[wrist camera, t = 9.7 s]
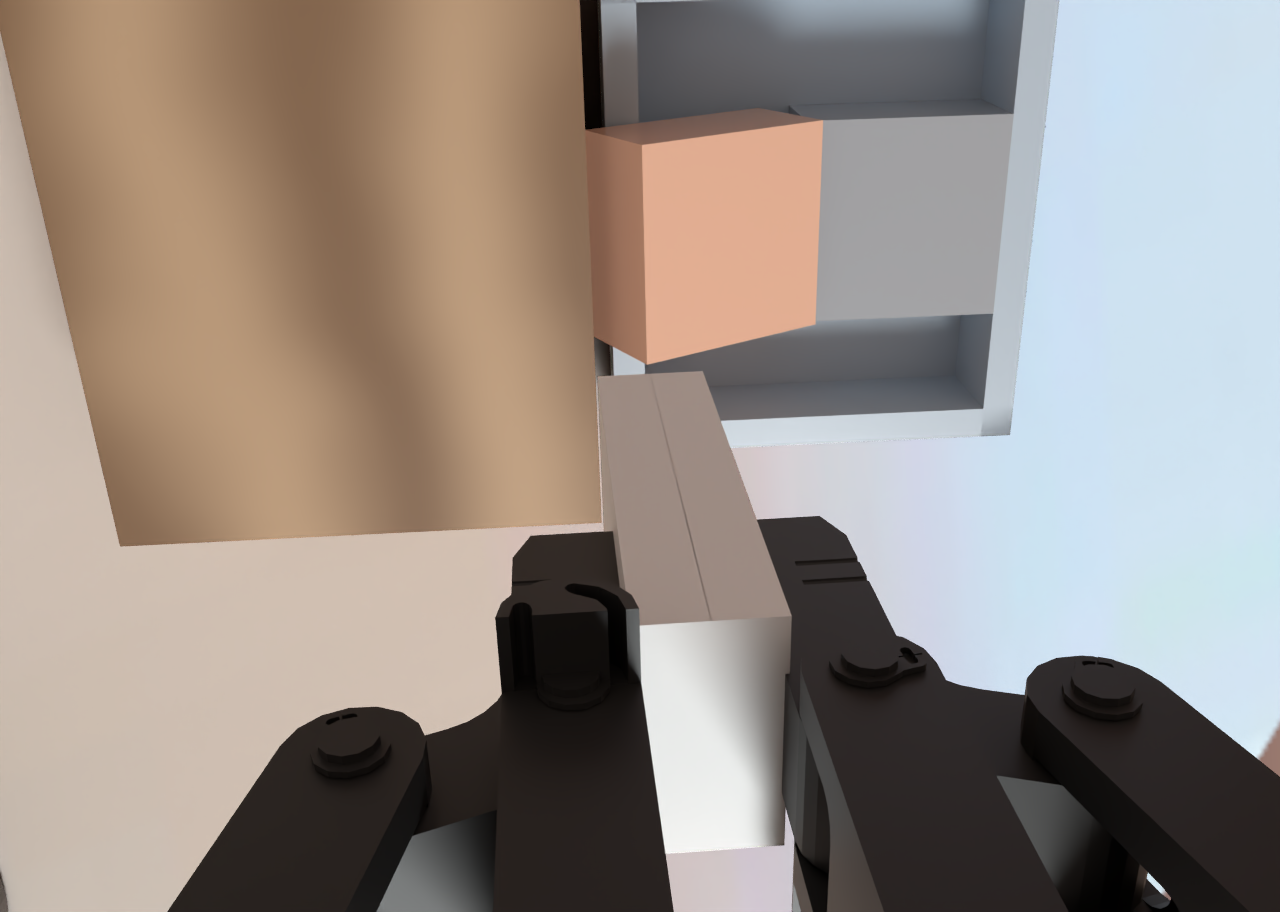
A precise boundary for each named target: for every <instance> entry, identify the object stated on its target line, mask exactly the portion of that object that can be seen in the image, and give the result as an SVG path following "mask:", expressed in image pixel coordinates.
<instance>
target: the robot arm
mask: <svg viewBox="0 0 1280 912" xmlns="http://www.w3.org/2000/svg"><path fill="white" fill-rule="evenodd" d="M597 378H598V402H599V427H600V451H601V475H602V499H603V523H604V532H589V533H571V534H554V535H537V536H530V537H529V539H528V540H527V541H526V542H525V544H524V545H523V546H522V547H521V548H520V550H519V551H518V552H517V553H516V554H515V556H514V557H513V566H512V593H511V596H509V597H508V598H507V599H506V600H505V601H503V602H502V603H501V605H500V608H499V610H498V613H497V615H496V617H495V620H496V631H497V643H498V654H499V666H500V678H501V689H502V695H501V696H500V698H499V699H498V701H497V702H495V703H494V704H493V705H492V706H491V707H490V708H489V709H487V710H486V711H485V712H484V713H482V714H480V715H479V716H477V717H475V718H473V719H472V720H470V721H468V722H466V723H463V724H460V725H458V726H455V727H452V728H449V729H446V730H443V731H439V732H436V733H432V734H429V735H424V733H423V731H422V729H421V727H420V725H419V723H417V722H416V721H414V720H413V719H411V718H410V717H408V716H407V715H405V714H404V713H402V712H399V711H394V710H389V709H385V708H380V707H362V708H348V709H344V710H340V711H336V712H333V713H329V714H326V715H322V716H320V717H318V718H316V719H314V720H313V721H311V722H309V723H307V724H305V725H303V726H301V727H300V728H298V729H297V730H296V731H295V732H294V733H293V734H292V735H291V736H290V737H289V738H288V739H287V740H286V741H285V742H284V743H283V744H282V745H281V746H280V747H279V748H278V750H277V751H276V753H275V754H274V756H273V757H272V759H271V760H270V762H269V763H268V765H267V766H266V768H265V769H264V771H263V772H262V773H261V775H260V776H259V778H258V779H257V781H256V782H255V784H254V785H253V787H252V788H251V790H250V791H249V793H248V794H247V795H246V797H245V798H244V800H243V801H242V803H241V804H240V806H239V807H238V809H237V810H236V812H235V813H234V815H233V816H232V818H231V819H230V820H229V822H228V823H227V825H226V826H225V828H224V829H223V831H222V832H221V834H220V835H219V837H218V838H217V840H216V841H215V843H214V844H213V845H212V847H211V848H210V850H209V851H208V853H207V854H206V856H205V857H204V859H203V860H202V862H201V863H200V865H199V866H198V867H197V869H196V870H195V872H194V873H193V875H192V876H191V878H190V879H189V881H188V882H187V884H186V885H185V887H184V888H183V890H182V891H181V892H180V894H179V895H178V897H177V898H176V900H175V901H174V903H173V904H172V906H171V907H170V909H169V910H168V912H674V911H673V904H672V897H671V890H670V883H669V876H668V868H667V861H666V854H673V853H686V852H699V851H713V850H726V849H739V848H753V847H766V846H780V845H784V838H785V807H786V810H787V814H788V817H789V821H790V824H791V828H792V831H793V835H794V866H793V893H792V912H1280V777H1279V776H1278V775H1277V774H1276V773H1274V772H1273V771H1272V770H1271V769H1269V768H1268V767H1267V766H1266V765H1264V764H1263V763H1262V762H1261V761H1259V760H1258V759H1257V758H1256V757H1254V756H1253V755H1252V754H1251V753H1249V752H1248V751H1247V750H1246V749H1244V748H1243V747H1242V746H1241V745H1239V744H1238V743H1237V742H1236V741H1234V740H1233V739H1232V738H1231V737H1229V736H1228V735H1227V734H1226V733H1224V732H1223V731H1222V730H1221V729H1219V728H1218V727H1217V726H1216V725H1214V724H1213V723H1212V722H1211V721H1209V720H1208V719H1207V718H1206V717H1204V716H1203V715H1202V714H1200V713H1199V712H1198V711H1197V710H1195V709H1194V708H1193V707H1192V706H1190V705H1189V704H1188V703H1187V702H1185V701H1184V700H1183V699H1182V698H1180V697H1179V696H1178V695H1177V694H1175V693H1174V692H1173V691H1172V690H1170V689H1169V688H1168V687H1167V686H1165V685H1164V684H1163V683H1162V682H1160V681H1159V680H1157V679H1155V678H1154V677H1152V676H1150V675H1149V674H1147V673H1145V672H1144V671H1142V670H1140V669H1139V668H1136V667H1133V666H1130V665H1127V664H1124V663H1121V662H1118V661H1115V660H1112V659H1107V658H1102V657H1098V658H1097V657H1094V656H1073V657H1062V658H1055V659H1053V660H1051V661H1048V662H1046V663H1043V664H1041V665H1038V666H1037V667H1036V668H1035V669H1034V671H1033V672H1032V673H1031V674H1030V675H1029V677H1028V678H1027V681H1026V689H1025V695H1019V694H1012V693H1004V692H997V691H989V690H982V689H977V688H972V687H967V686H962V685H958V684H955V683H952V682H950V681H947V680H946V679H945V677H944V676H943V674H942V672H941V670H940V668H939V666H938V664H937V663H936V661H935V660H934V659H933V658H932V657H931V656H930V655H929V654H928V653H927V651H926V650H925V649H924V648H922V647H920V646H918V645H916V644H915V643H913V642H911V641H909V640H907V639H905V638H903V637H899V636H896V634H895V632H894V630H893V628H892V626H891V624H890V622H889V620H888V618H887V616H886V614H885V612H884V610H883V608H882V606H881V604H880V602H879V600H878V598H877V596H876V594H875V592H874V590H873V588H872V586H871V584H870V582H869V581H867V576H866V574H865V572H864V570H863V568H862V566H861V564H860V562H858V561H857V556H856V554H855V552H854V550H853V548H852V546H851V544H850V542H849V540H848V538H847V536H846V535H845V534H844V533H843V532H841V531H840V530H838V529H837V528H835V527H834V526H833V525H831V524H830V523H828V522H827V521H826V520H824V519H823V518H821V517H820V516H812V517H795V518H778V519H760V520H757V519H756V516H755V514H754V511H753V508H752V505H751V503H750V500H749V497H748V494H747V492H746V489H745V486H744V483H743V481H742V478H741V475H740V472H739V470H738V467H737V464H736V461H735V459H734V456H733V453H732V450H731V448H730V445H729V442H728V439H727V437H726V434H725V431H724V428H723V426H722V423H721V420H720V417H719V415H718V412H717V409H716V406H715V404H714V401H713V398H712V395H711V393H710V390H709V387H708V384H707V382H706V379H705V376H704V373H703V371H695V372H675V373H655V374H635V375H615V376H597ZM1148 873H1149V874H1150V875H1151V876H1152V877H1153V878H1154V879H1155V880H1156V881H1157V882H1158V883H1159V884H1160V885H1161V886H1162V887H1163V888H1164V889H1165V891H1166V892H1167V893H1168V895H1169V896H1170V897H1171V900H1168V898H1166V897H1165V896H1164V895H1162V894H1161V893H1160V892H1159V891H1158V890H1157V889H1156V888H1155V887H1154V886H1153V885H1152V884H1151V883H1150V882H1149V881H1148V880H1147V874H1148ZM0 912H8V907H7V901H6V895H5V892H4V888H3V884H2V881H1V879H0Z"/></svg>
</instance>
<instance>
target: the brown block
mask: <svg viewBox="0 0 1280 912" xmlns="http://www.w3.org/2000/svg"><path fill="white" fill-rule="evenodd" d="M0 32H1V37H2V41H3V45H4V49H5V54H6V58H7V62H8V67H9V71H10V75H11V79H12V84H13V88H14V92H15V97H16V101H17V105H18V110H19V114H20V118H21V122H22V127H23V131H24V135H25V140H26V144H27V148H28V153H29V157H30V161H31V165H32V170H33V174H34V178H35V183H36V187H37V191H38V196H39V200H40V204H41V208H42V213H43V217H44V221H45V226H46V230H47V234H48V239H49V243H50V247H51V251H52V256H53V260H54V264H55V269H56V273H57V277H58V281H59V286H60V290H61V294H62V299H63V303H64V307H65V312H66V316H67V320H68V324H69V329H70V333H71V337H72V342H73V346H74V350H75V355H76V359H77V363H78V367H79V372H80V376H81V380H82V385H83V389H84V393H85V398H86V402H87V406H88V410H89V415H90V419H91V423H92V428H93V432H94V436H95V441H96V445H97V449H98V453H99V458H100V462H101V466H102V471H103V475H104V479H105V483H106V488H107V492H108V496H109V501H110V505H111V509H112V514H113V518H114V522H115V526H116V531H117V535H118V539H119V544H120V546H138V545H159V544H179V543H199V542H219V541H240V540H260V539H280V538H301V537H321V536H341V535H362V534H382V533H402V532H423V531H443V530H463V529H483V528H504V527H524V526H544V525H565V524H585V523H602V520H601V497H600V473H599V449H598V425H597V402H596V378H595V354H594V330H593V306H592V283H591V259H590V235H589V211H588V187H587V164H586V140H585V116H584V92H583V69H582V45H581V21H580V0H0Z"/></svg>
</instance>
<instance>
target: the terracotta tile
mask: <svg viewBox="0 0 1280 912" xmlns="http://www.w3.org/2000/svg"><path fill="white" fill-rule="evenodd" d="M822 139H823V120H820V119H814V118H809V117H804V116H799V115H794V114H788V113H783V112H778V111H773V110H767V109H762V108H753V109H745V110H737V111H729V112H721V113H713V114H706V115H698V116H690V117H682V118H674V119H666V120H658V121H650V122H643V123H635V124H627V125H619V126H611V127H603V128H595V129H587V130H585V140H586V164H587V187H588V211H589V235H590V259H591V283H592V306H593V330H594V337H595V338H597V339H599V340H601V341H603V342H605V343H607V344H609V345H611V346H612V347H614V348H616V349H618V350H620V351H622V352H624V353H626V354H628V355H629V356H631V357H633V358H635V359H637V360H639V361H641V362H643V363H645V364H647V365H648V364H652V363H657V362H661V361H665V360H669V359H673V358H677V357H682V356H686V355H690V354H694V353H698V352H702V351H707V350H711V349H715V348H719V347H723V346H727V345H732V344H736V343H740V342H744V341H748V340H752V339H757V338H761V337H765V336H769V335H773V334H777V333H782V332H786V331H790V330H794V329H798V328H802V327H807V326H811V325H815V324H816V297H817V271H818V244H819V218H820V192H821V165H822Z"/></svg>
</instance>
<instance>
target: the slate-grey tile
mask: <svg viewBox="0 0 1280 912" xmlns="http://www.w3.org/2000/svg"><path fill="white" fill-rule="evenodd" d="M789 114H794V115H799V116H804V117H809V118H814V119H820V120H823V139H822V165H821V192H820V218H819V244H818V271H817V297H816V321H832V320H855V319H878V318H902V317H925V316H949V315H972V314H993V312H994V302H995V292H996V283H997V273H998V263H999V253H1000V244H1001V234H1002V224H1003V214H1004V205H1005V195H1006V185H1007V175H1008V166H1009V156H1010V146H1011V137H1012V127H1013V117H1014V114H1013V113H1011V112H1009V111H1007V110H1004V109H1002V108H1000V107H998V106H996V105H994V104H991V103H989V102H987V101H985V100H983V99H955V100H926V101H897V102H868V103H839V104H810V105H789Z"/></svg>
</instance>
